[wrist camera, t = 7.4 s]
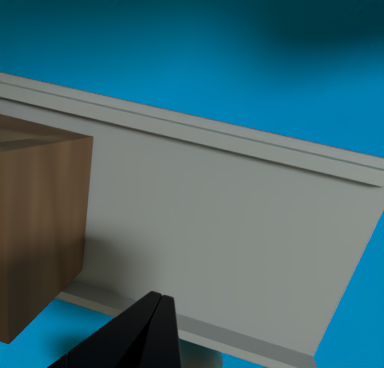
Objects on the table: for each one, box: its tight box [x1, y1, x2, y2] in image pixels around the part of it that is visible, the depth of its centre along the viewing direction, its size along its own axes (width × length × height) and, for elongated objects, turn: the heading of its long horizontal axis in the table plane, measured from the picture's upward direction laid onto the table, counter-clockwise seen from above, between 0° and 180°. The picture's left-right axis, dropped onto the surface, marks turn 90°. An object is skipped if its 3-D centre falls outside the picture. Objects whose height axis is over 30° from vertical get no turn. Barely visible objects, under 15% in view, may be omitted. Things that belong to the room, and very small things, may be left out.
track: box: [0, 72, 384, 368], centre depth 11 cm, size 22×12×7 cm, turn 78°
